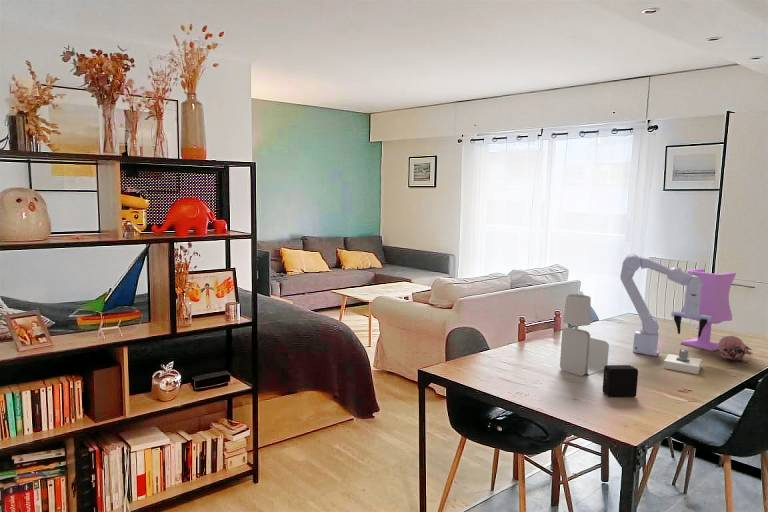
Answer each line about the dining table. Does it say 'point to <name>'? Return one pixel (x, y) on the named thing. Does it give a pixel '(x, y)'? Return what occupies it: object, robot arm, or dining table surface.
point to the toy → (733, 348)
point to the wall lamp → (581, 339)
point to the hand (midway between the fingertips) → (689, 335)
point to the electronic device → (620, 381)
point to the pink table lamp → (711, 305)
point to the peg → (683, 355)
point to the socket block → (682, 364)
